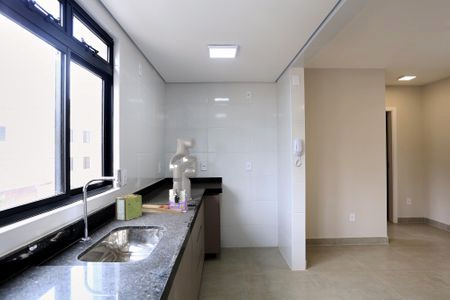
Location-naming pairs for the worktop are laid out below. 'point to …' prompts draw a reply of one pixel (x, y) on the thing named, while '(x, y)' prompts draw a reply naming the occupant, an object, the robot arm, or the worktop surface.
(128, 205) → the protein box
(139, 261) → the worktop surface
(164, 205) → the frame
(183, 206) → the candy box
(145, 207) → the rail lane
